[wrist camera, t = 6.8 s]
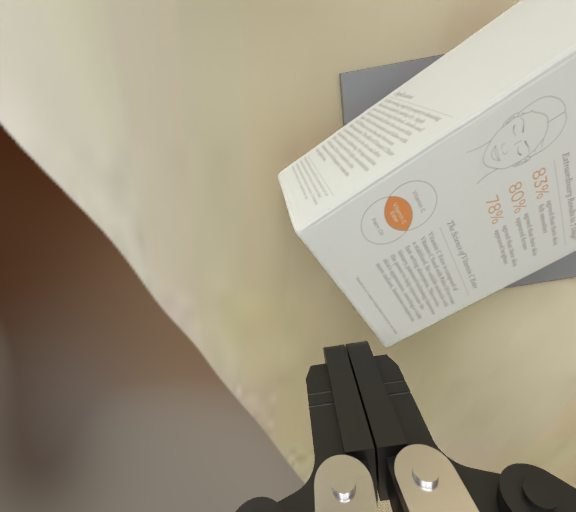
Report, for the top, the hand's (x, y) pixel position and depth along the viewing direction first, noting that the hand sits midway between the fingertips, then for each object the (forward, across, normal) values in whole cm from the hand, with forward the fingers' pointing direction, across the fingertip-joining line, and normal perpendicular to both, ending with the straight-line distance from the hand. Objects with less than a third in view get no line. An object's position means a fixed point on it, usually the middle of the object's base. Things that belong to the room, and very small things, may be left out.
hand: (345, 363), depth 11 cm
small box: (+6, 0, -1) cm, 6 cm away
